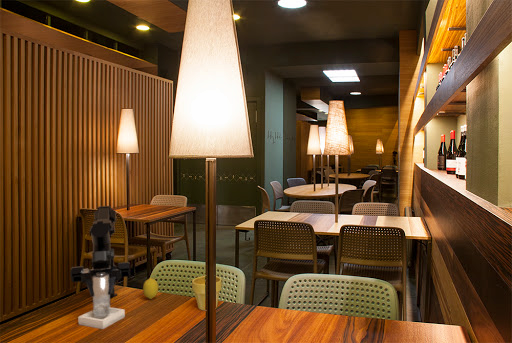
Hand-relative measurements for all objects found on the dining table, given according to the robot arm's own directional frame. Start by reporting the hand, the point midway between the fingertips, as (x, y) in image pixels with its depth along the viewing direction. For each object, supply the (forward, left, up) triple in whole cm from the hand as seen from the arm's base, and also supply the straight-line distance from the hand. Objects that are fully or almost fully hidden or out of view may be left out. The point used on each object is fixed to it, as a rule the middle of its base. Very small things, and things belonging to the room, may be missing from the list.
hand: (101, 295), depth 131 cm
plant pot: (-23, +26, -9) cm, 36 cm away
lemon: (-23, +2, -9) cm, 25 cm away
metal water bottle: (-1, -1, -7) cm, 7 cm away
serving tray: (-1, -1, -9) cm, 9 cm away
